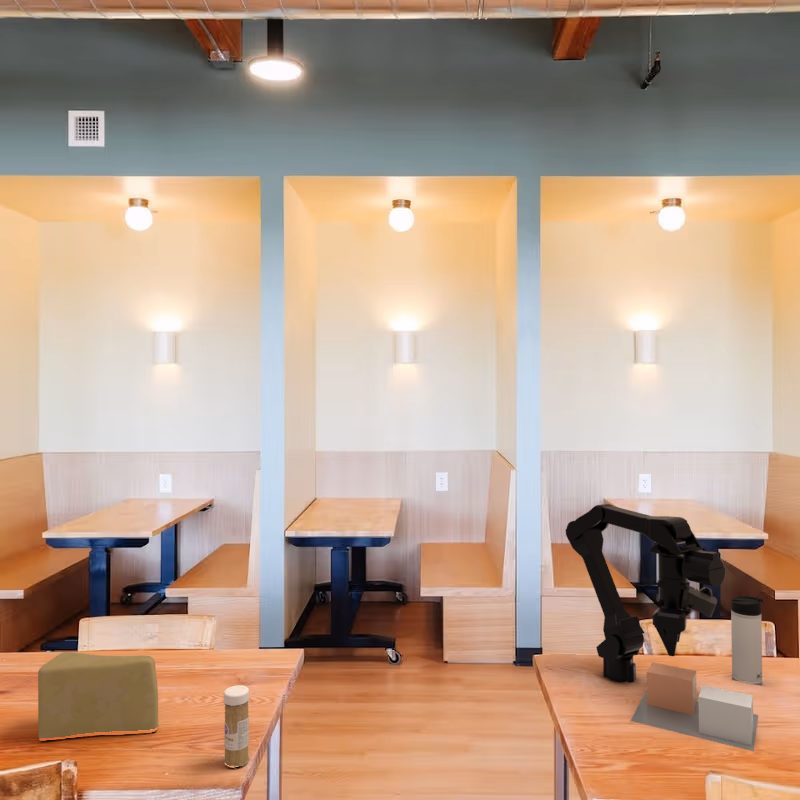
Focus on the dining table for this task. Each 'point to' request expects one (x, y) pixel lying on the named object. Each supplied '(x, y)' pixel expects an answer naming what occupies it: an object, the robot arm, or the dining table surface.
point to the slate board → (682, 722)
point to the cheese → (96, 694)
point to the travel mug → (746, 639)
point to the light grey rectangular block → (726, 714)
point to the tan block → (671, 688)
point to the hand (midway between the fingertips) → (674, 648)
